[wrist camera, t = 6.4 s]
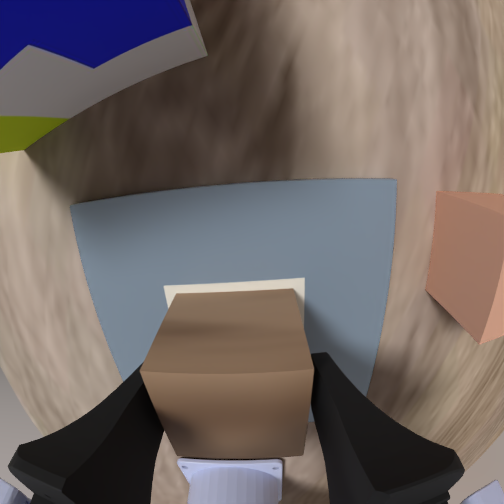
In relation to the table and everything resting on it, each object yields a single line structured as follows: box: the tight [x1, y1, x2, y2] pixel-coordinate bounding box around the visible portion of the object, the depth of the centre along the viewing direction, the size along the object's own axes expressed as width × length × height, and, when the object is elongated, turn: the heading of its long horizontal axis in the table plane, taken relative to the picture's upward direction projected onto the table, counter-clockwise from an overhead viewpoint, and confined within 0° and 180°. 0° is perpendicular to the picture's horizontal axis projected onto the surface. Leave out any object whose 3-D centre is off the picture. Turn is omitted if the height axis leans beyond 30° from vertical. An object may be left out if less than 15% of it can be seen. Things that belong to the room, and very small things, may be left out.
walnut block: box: [140, 288, 314, 459], centre depth 11 cm, size 5×5×5 cm
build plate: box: [70, 178, 397, 422], centre depth 13 cm, size 14×14×1 cm
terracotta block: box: [425, 191, 504, 344], centre depth 10 cm, size 5×5×5 cm
